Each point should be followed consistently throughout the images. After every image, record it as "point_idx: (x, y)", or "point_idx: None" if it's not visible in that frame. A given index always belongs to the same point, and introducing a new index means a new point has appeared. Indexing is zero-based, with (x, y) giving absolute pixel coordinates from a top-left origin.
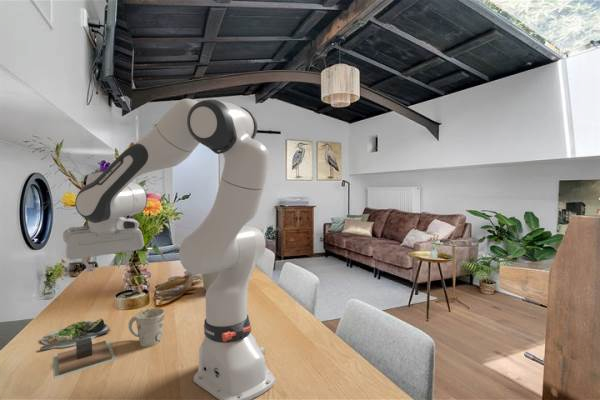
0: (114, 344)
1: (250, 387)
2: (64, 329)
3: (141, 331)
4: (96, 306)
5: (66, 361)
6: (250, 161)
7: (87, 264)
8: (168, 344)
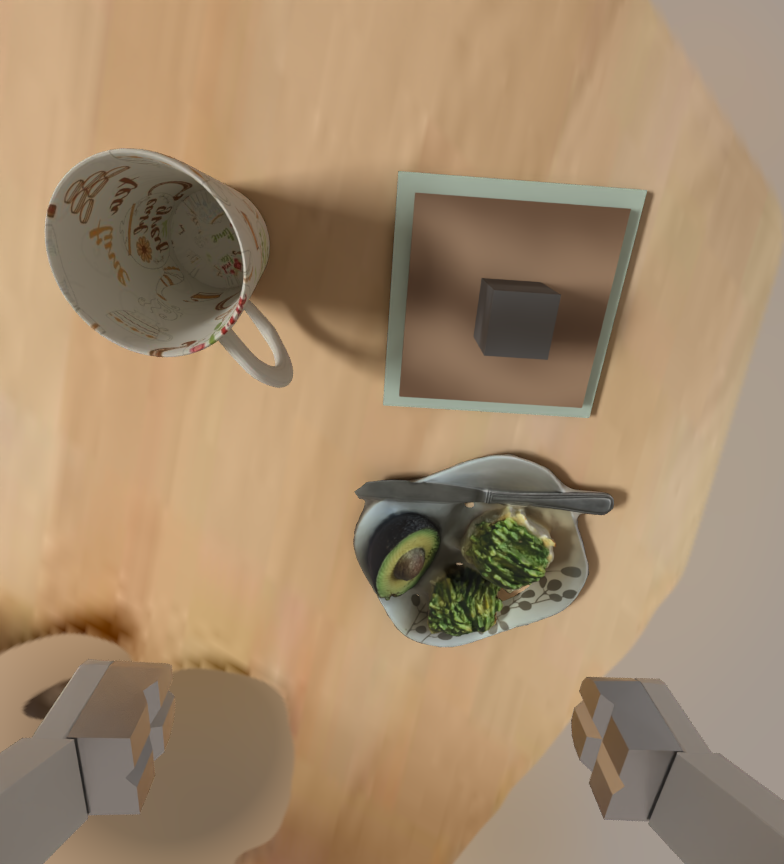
0: (366, 365)
1: None
2: (519, 583)
3: (245, 209)
4: (349, 762)
5: (578, 299)
6: None
7: (727, 783)
8: None
